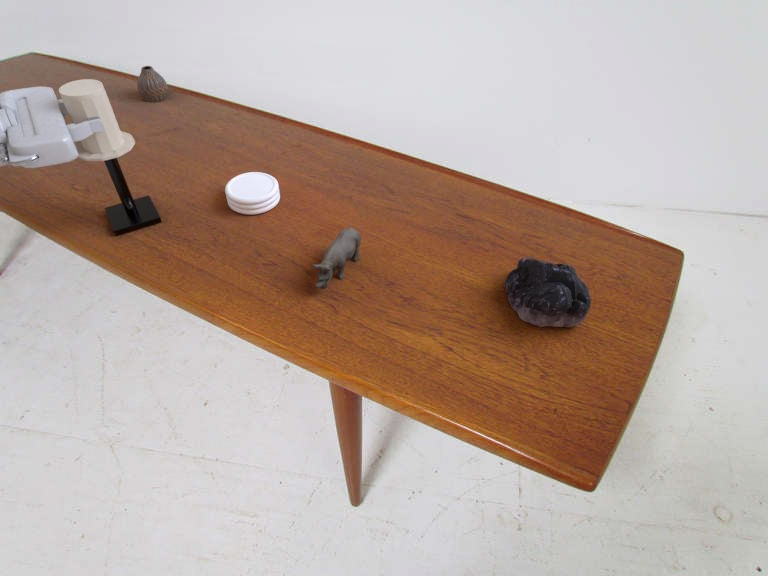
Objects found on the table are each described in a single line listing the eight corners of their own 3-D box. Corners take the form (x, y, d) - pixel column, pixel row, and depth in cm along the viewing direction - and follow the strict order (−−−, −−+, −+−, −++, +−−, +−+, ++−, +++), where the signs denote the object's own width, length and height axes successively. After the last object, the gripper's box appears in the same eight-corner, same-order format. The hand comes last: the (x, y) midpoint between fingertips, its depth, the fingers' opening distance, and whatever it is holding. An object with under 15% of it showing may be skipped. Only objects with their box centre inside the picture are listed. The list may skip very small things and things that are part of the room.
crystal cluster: (527, 265, 86) (535, 219, 79) (605, 297, 80) (620, 250, 73) (487, 312, 80) (490, 267, 73) (567, 351, 73) (580, 306, 66)
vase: (163, 94, 128) (153, 59, 122) (177, 103, 124) (167, 68, 118) (138, 102, 124) (126, 67, 118) (151, 112, 121) (139, 76, 115)
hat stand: (116, 236, 88) (80, 158, 77) (106, 212, 92) (71, 136, 81) (162, 222, 91) (134, 145, 80) (150, 200, 96) (123, 124, 85)
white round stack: (268, 219, 92) (266, 204, 90) (219, 211, 94) (214, 195, 91) (287, 190, 99) (286, 174, 97) (241, 182, 101) (238, 167, 98)
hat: (79, 166, 77) (51, 105, 70) (70, 141, 82) (43, 82, 75) (140, 152, 80) (119, 92, 74) (127, 128, 86) (106, 71, 79)
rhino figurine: (304, 294, 79) (300, 267, 75) (345, 245, 88) (344, 217, 84) (326, 303, 78) (324, 275, 73) (366, 252, 87) (366, 224, 82)
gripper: (-12, 145, 64) (103, 121, 69) (-20, 87, 76) (78, 70, 82) (13, 187, 68) (119, 161, 74) (1, 126, 81) (93, 107, 86)
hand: (97, 113), depth 78 cm, fingers closed on hat, 6 cm apart
